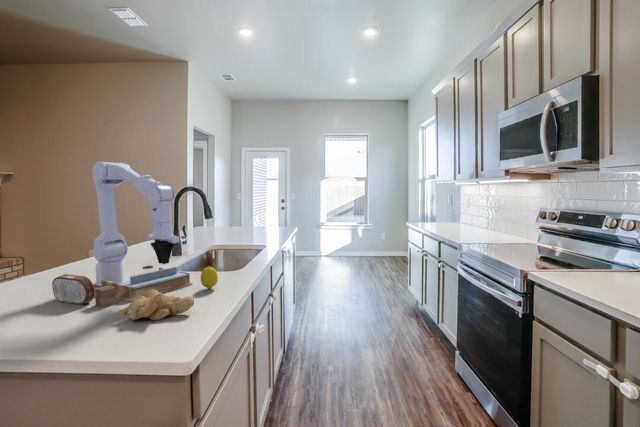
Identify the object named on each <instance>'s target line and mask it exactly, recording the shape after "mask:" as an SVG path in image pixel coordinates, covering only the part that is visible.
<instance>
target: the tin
mask: <svg viewBox="0 0 640 427" xmlns="http://www.w3.org/2000/svg"><path fill="white" fill-rule="evenodd" d="M51 287H52V292H53V293H52V294H53V296H54V298H56V300H57V301H59V302H61V303H67V304H71V305H73V304H74V305H79V306H80V305H85V304H87V303H90V302H92V301H93V299H94V298H95V289H96V288H95V286H94V283H93V282H92V280H90V278H88V276H85V275H76V274H70V273H69V274H67V273H64V274H62V275H59V276H57V277H55V278H54V279H53V280H52V283H51Z"/></svg>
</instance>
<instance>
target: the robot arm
mask: <svg viewBox="0 0 640 427" xmlns="http://www.w3.org/2000/svg"><path fill="white" fill-rule="evenodd" d="M92 179H93V185H94V186H95V190H96V199H97V200H96V201H97V206H98V208H97V209H98V216H99V219H98V220H99V227H100V234H99V235H98V236H97V237H96V238H95V239H94V240H93V248H92V254H93V257H94V259H96V262H97V263H96V264H95V279H96V281H95V282H94V283H93V285H95V286H99V287H101V280H107V281H111V282H115V283H123V282H128V281H129V280H125V279H124V278H125V277H124V262H123V259H125V257H126V255H127V254H128V250H129V248H128V245H127V243H126V238H125V236H124V235H123V234H121V233H119V232H118V230H119V229H118V222H117V212H116V210H117V209H116V203H115V202H116V201H115V193H114V192H115V188H116V187H117V186H120V185H121V184H122V183H124V182H125V181H126V182H129V183H132V184H133V185H134V188H135V190H136V191H138V192H140V193H141V194H142V195H144V196H146V198H147V200H148V202H149V207H150V208H151V216H152V217H151V218H152V221H151V222H152V233H150V234H148V233H147V236H146V237H147V241H154V242H150V246H151V247H152V249H153V250H154V253H155V255H156V258H157V261H158V264H162V265H166V264H169V263H170V259H171V254H172V251H173V249H174V247H175V245H176V244H177V243H178V244H179V243H180V236H177V235H175V234H173V226H172V224H173V223H172V222H173V221H172V220H173V219H172V202H173V201H174V199H175V190H174V188H173V187H172V186H171V185H170V184H162V183H161V182H160V181H157V180H155V179H154V178H153V177H152V176H151V175H149V174H142V175H140V174H139V173H137V171H135V170H133V169H132V168H131V166H130V165H129V164H126V163H125V162H111V161H110V162H109V161H108V162H107V161H97V162H95V164H94V165H93V167H92Z"/></svg>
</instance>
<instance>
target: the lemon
mask: <svg viewBox="0 0 640 427" xmlns="http://www.w3.org/2000/svg"><path fill="white" fill-rule="evenodd" d="M200 273H201V274H200V282H201V285H202V286H203V287H205V288H207V289H208V290H211V289H212V288H213V287H215V286H216V284H217V283H218V279H219V276H218V272H217V270H216V269H215V267H212V266H210V265H209V266H208V265H207V267H204V268H203V269H202V271H201V272H200Z"/></svg>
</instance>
